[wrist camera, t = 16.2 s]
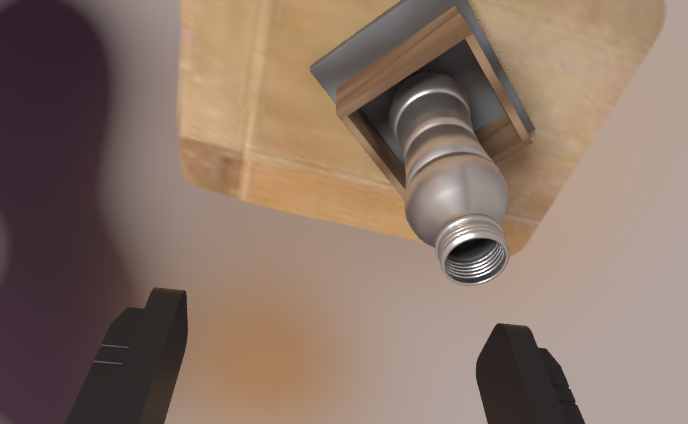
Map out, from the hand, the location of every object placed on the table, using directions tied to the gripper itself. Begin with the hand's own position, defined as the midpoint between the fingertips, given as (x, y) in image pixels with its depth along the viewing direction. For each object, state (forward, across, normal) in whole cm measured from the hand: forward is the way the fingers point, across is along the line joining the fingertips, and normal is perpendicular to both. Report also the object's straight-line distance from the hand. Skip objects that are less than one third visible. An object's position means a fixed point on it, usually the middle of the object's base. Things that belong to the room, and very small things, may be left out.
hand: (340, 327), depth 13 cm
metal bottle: (+31, -9, +7) cm, 33 cm away
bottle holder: (+32, -9, +7) cm, 34 cm away
